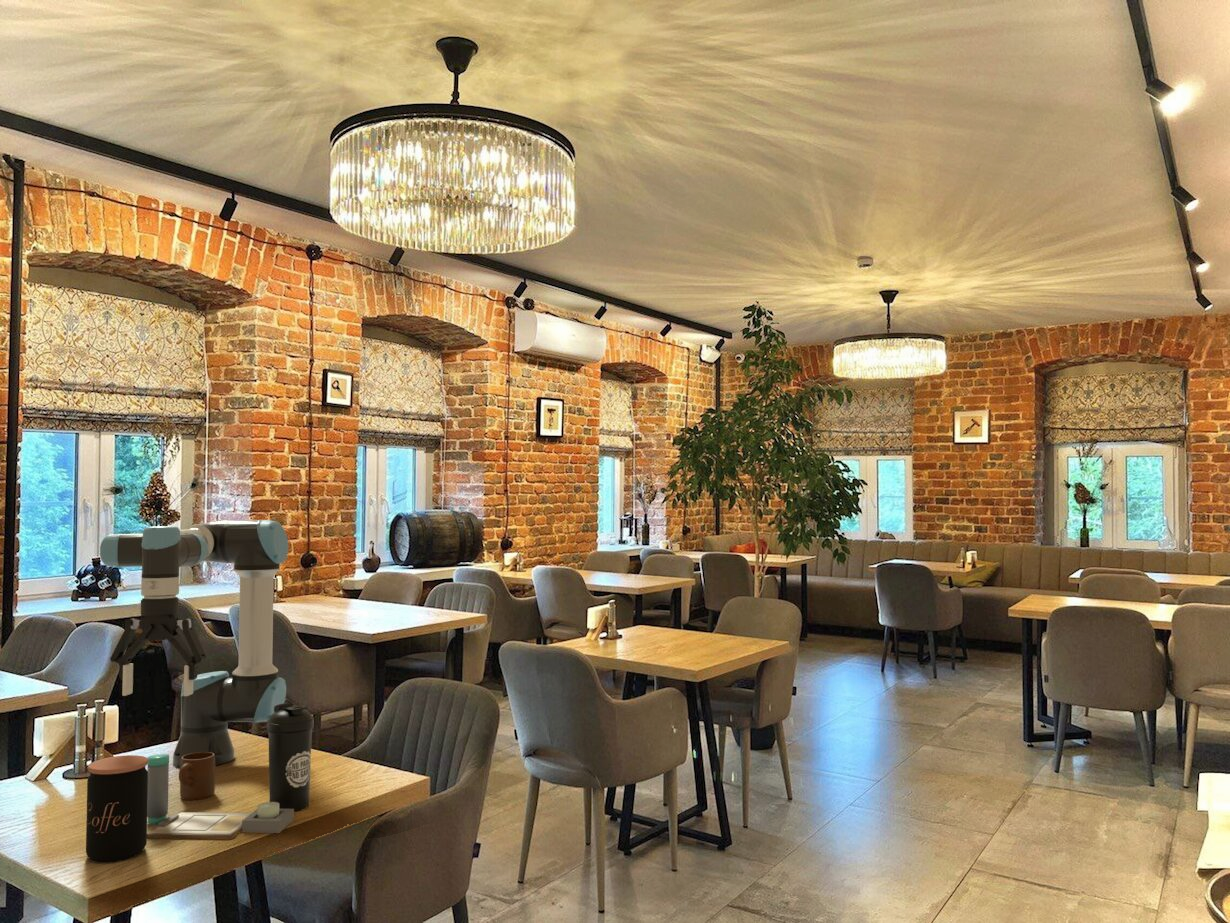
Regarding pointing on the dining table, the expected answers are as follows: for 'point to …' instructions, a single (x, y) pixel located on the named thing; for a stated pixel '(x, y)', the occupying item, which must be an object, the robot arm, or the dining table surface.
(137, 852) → the coffee jar
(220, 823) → the board
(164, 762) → the marker
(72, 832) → the dining table surface
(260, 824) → the button housing
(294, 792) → the water bottle
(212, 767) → the mug
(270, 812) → the button
